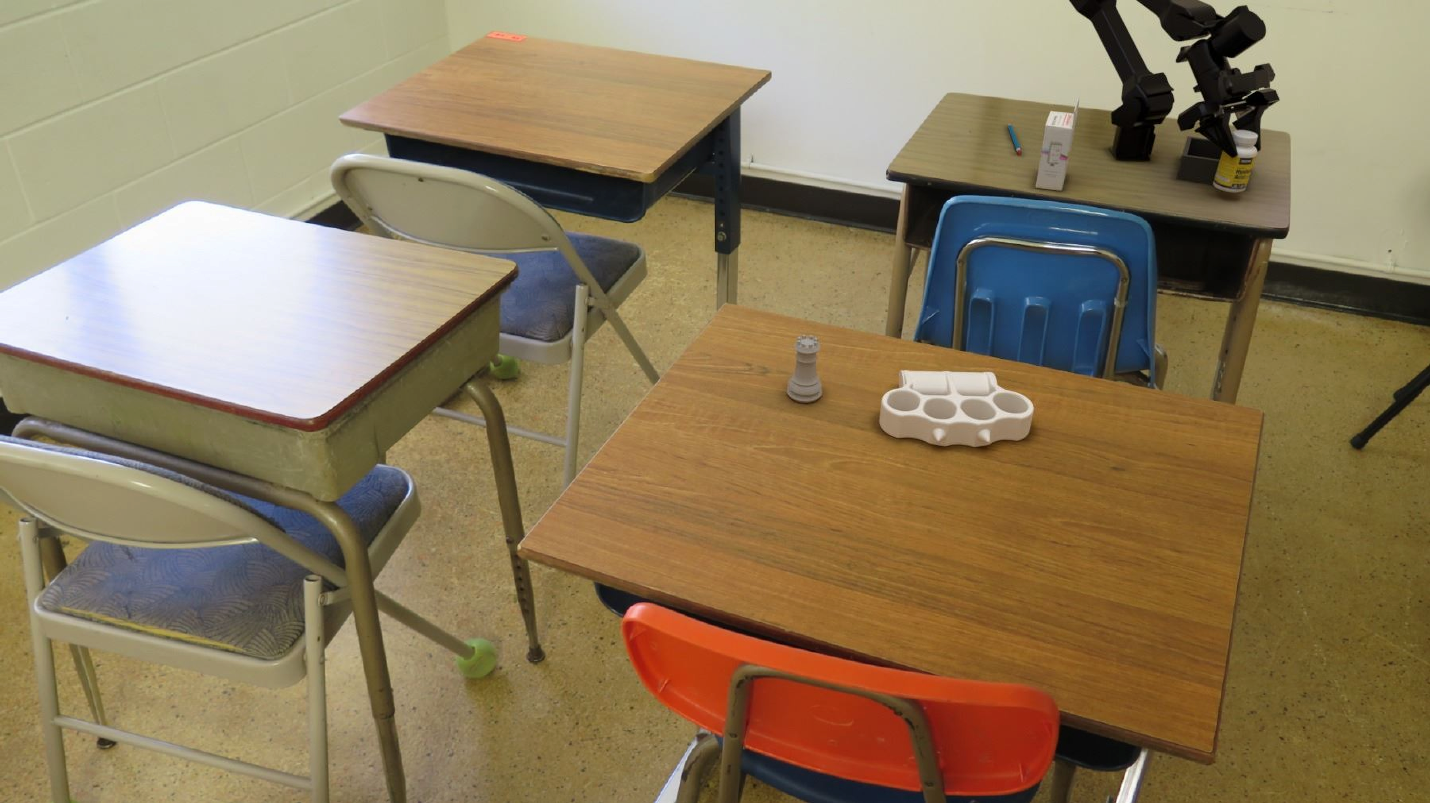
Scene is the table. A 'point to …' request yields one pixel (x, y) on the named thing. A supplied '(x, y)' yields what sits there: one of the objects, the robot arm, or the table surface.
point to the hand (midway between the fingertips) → (1246, 154)
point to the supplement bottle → (1237, 163)
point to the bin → (1199, 161)
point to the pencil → (1014, 139)
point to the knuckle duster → (954, 409)
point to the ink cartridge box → (1056, 149)
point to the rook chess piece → (805, 372)
